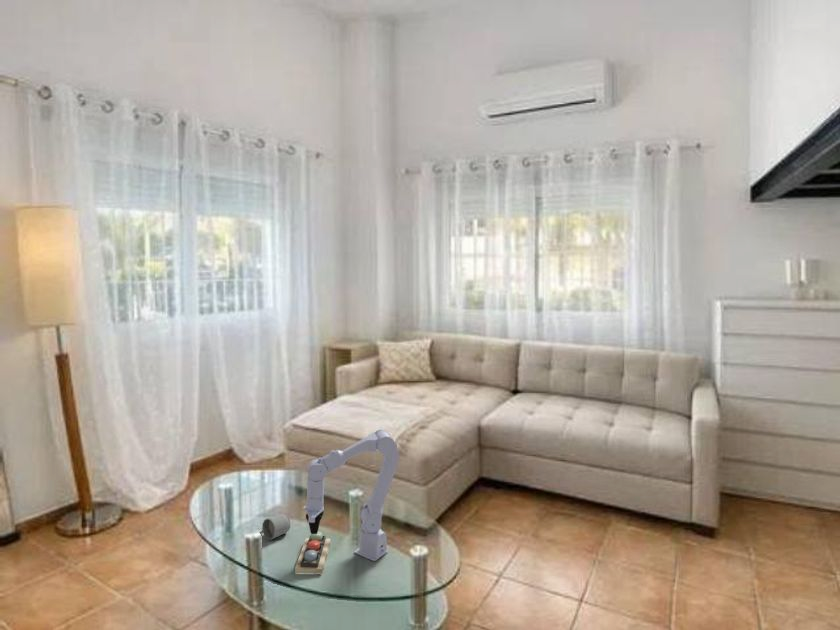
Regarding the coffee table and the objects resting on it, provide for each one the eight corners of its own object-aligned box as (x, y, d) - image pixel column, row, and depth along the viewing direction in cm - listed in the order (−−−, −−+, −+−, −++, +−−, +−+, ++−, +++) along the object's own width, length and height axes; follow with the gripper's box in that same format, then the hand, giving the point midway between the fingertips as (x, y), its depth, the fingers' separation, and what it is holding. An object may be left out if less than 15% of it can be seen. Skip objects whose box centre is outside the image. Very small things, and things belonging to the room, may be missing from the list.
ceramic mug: (291, 534, 201) (292, 514, 200) (274, 542, 194) (274, 522, 194) (273, 526, 207) (274, 507, 207) (256, 533, 200) (256, 514, 200)
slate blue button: (305, 555, 180) (305, 549, 180) (317, 555, 180) (317, 550, 180) (303, 561, 176) (303, 556, 176) (315, 562, 176) (315, 556, 176)
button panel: (305, 543, 195) (306, 534, 194) (330, 543, 195) (330, 534, 195) (294, 574, 175) (295, 564, 175) (322, 574, 175) (322, 564, 175)
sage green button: (312, 536, 193) (312, 531, 193) (323, 536, 193) (323, 531, 193) (310, 542, 189) (310, 536, 189) (321, 542, 189) (321, 537, 189)
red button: (309, 545, 187) (309, 540, 186) (320, 545, 187) (320, 540, 187) (307, 551, 183) (307, 546, 182) (318, 551, 183) (318, 546, 183)
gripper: (307, 486, 190) (306, 522, 191) (299, 504, 176) (298, 543, 177) (327, 487, 191) (325, 523, 192) (321, 504, 176) (319, 543, 177)
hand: (314, 533), depth 184 cm, fingers closed
